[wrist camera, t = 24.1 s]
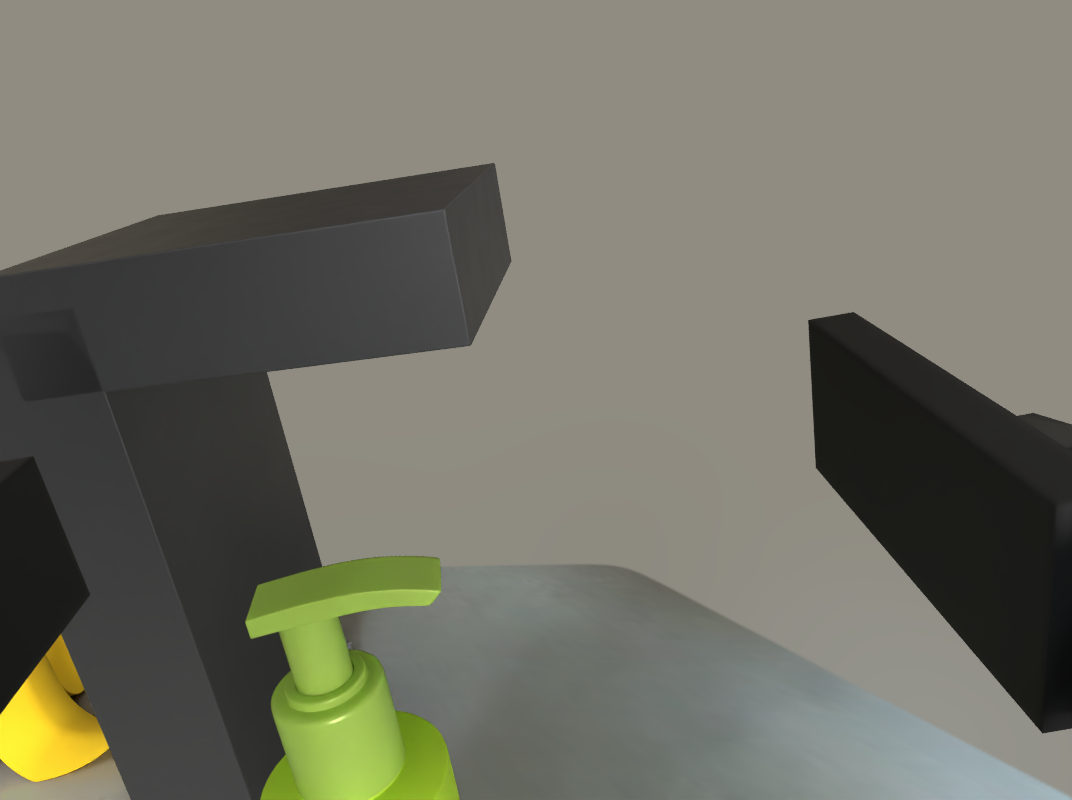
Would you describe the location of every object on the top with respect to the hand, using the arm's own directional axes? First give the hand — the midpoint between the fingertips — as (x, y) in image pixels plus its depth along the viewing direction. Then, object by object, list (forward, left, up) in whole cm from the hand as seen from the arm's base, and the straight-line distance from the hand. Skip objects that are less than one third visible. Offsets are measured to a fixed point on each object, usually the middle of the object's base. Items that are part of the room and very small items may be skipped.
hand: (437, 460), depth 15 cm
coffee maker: (+14, -24, -27) cm, 38 cm away
